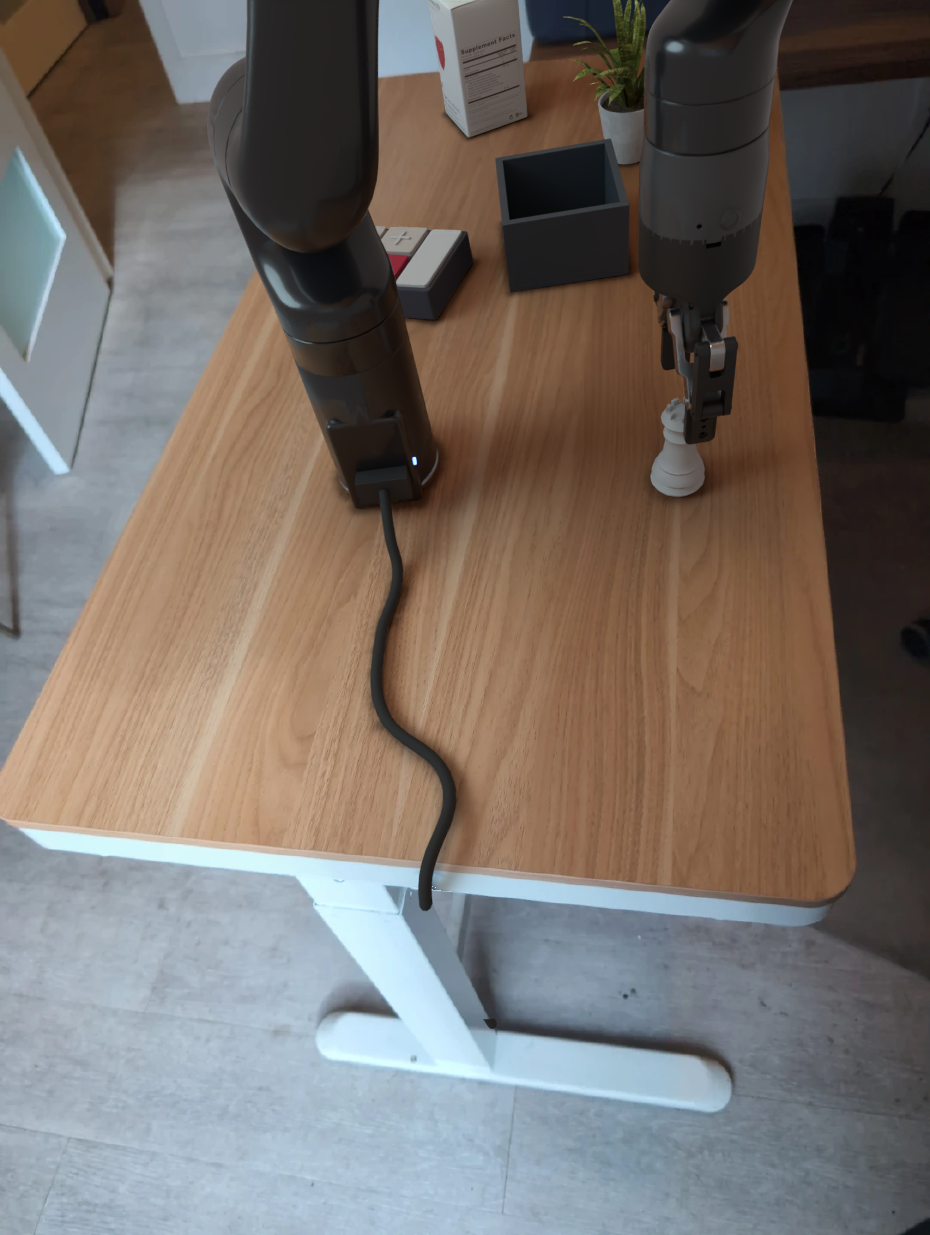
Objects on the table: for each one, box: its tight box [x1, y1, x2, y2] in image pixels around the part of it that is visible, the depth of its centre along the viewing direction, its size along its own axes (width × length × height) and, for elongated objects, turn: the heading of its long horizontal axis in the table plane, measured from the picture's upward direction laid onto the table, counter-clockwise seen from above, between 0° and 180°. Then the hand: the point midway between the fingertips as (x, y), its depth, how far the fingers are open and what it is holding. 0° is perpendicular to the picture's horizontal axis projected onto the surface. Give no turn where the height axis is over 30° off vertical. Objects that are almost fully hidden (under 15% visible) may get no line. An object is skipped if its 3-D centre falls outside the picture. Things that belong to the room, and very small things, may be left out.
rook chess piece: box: [649, 396, 706, 498], centre depth 67 cm, size 4×4×8 cm
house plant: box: [564, 0, 647, 165], centre depth 96 cm, size 14×14×16 cm
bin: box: [494, 138, 630, 293], centre depth 89 cm, size 14×13×8 cm
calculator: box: [375, 225, 474, 321], centre depth 92 cm, size 11×4×15 cm
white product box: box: [427, 0, 528, 138], centre depth 107 cm, size 9×9×15 cm
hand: (686, 402), depth 65 cm, fingers open, 8 cm apart
